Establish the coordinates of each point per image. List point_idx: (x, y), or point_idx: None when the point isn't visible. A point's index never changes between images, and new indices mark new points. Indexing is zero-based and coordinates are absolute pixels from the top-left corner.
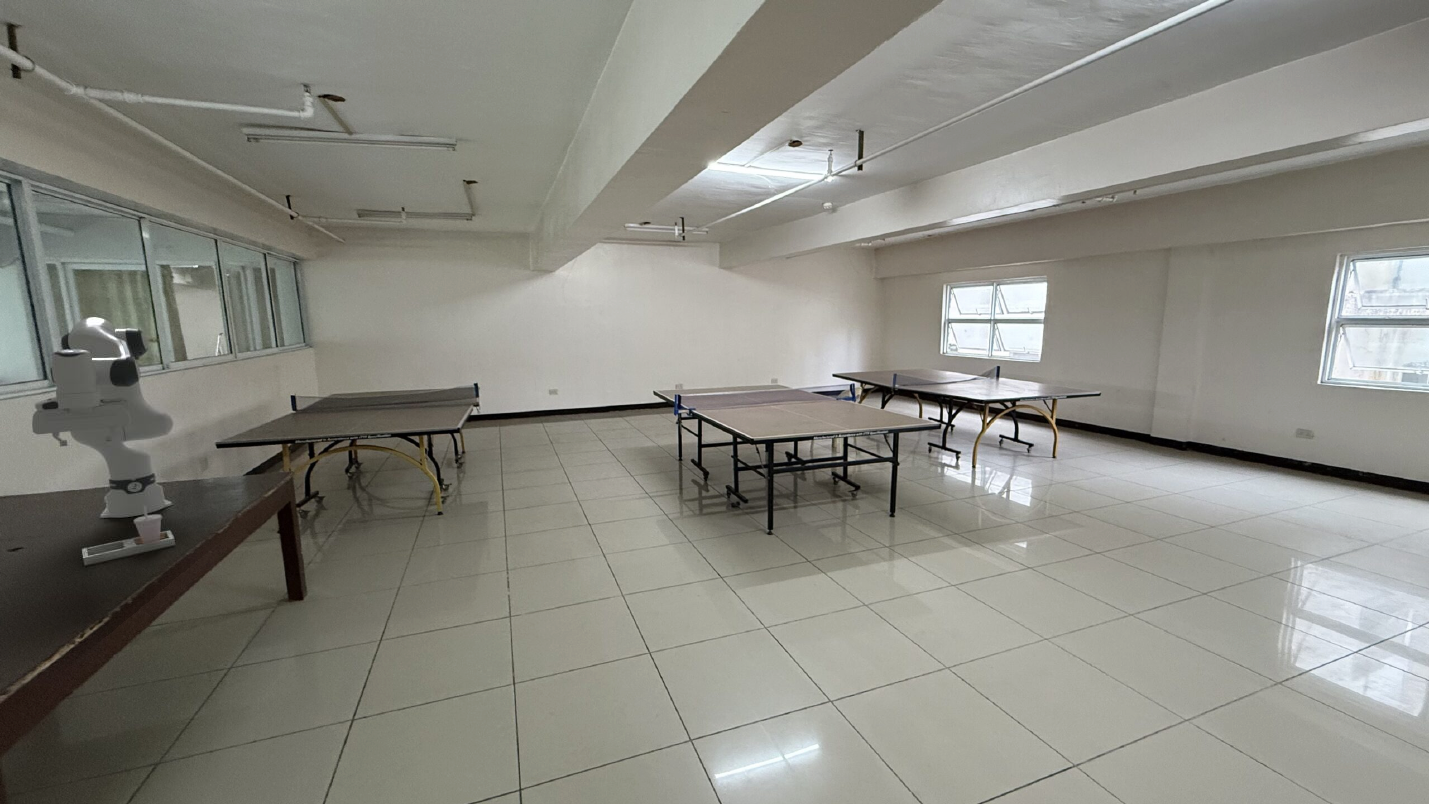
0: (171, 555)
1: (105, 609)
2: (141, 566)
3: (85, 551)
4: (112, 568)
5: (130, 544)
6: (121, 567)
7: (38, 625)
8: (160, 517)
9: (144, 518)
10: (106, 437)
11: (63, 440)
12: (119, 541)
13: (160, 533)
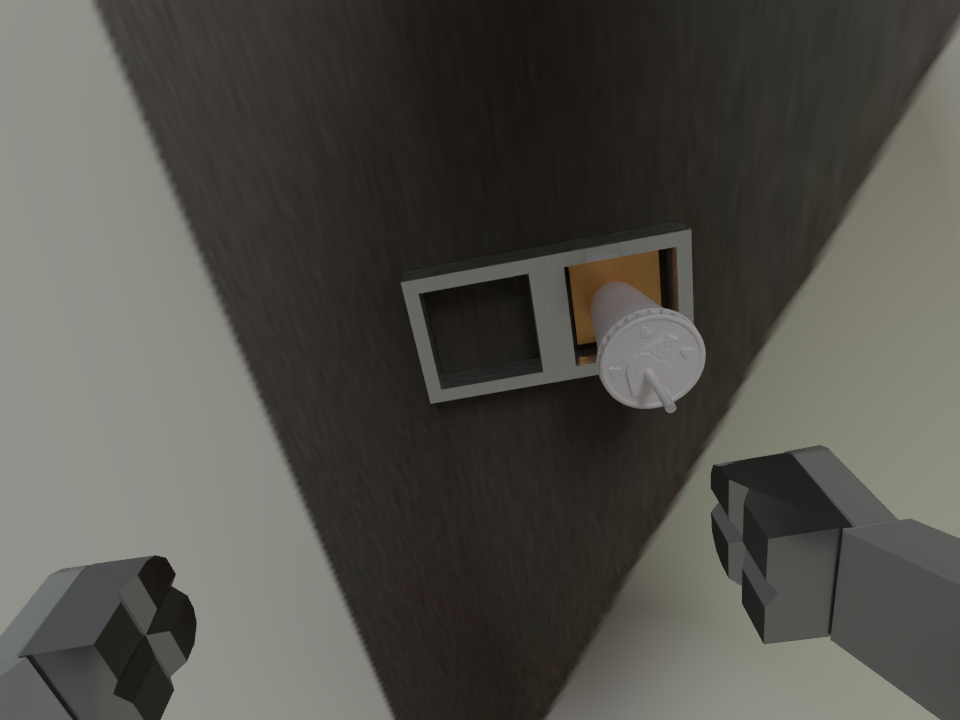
0: (664, 450)
1: (533, 708)
2: (587, 497)
3: (421, 327)
4: (514, 465)
5: (558, 340)
6: (537, 472)
7: (429, 714)
8: (698, 375)
9: (641, 374)
10: (765, 612)
11: (86, 709)
12: (517, 267)
13: (655, 249)
